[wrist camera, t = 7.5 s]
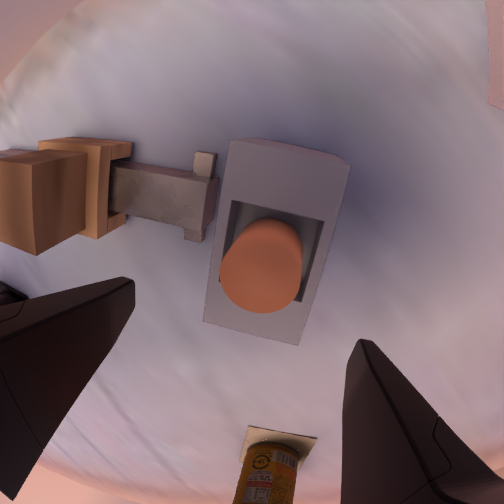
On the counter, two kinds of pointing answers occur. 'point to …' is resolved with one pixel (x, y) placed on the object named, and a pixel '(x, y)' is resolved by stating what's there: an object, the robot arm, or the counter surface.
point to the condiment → (270, 466)
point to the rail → (162, 192)
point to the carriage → (58, 192)
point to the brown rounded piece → (263, 266)
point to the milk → (496, 52)
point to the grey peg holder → (282, 207)
